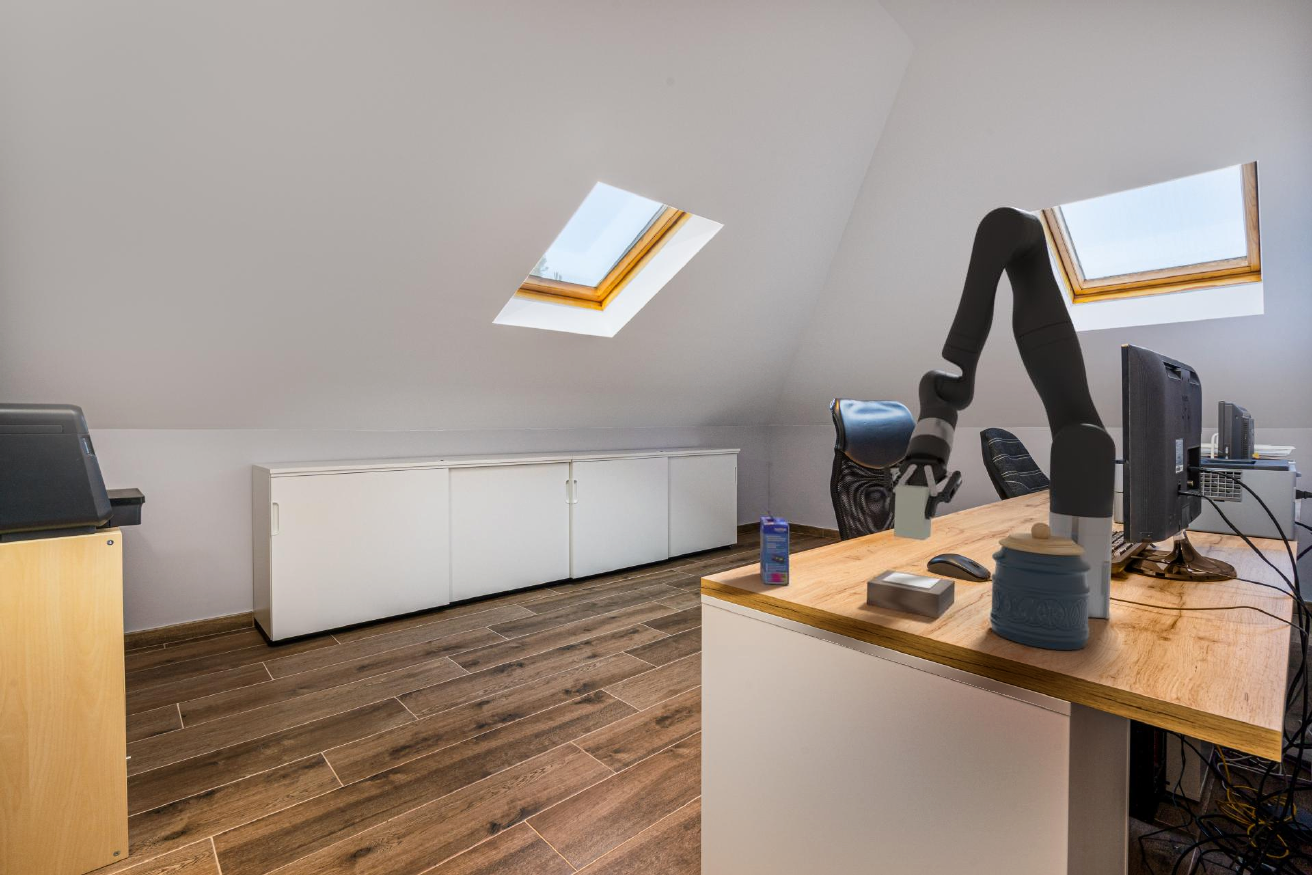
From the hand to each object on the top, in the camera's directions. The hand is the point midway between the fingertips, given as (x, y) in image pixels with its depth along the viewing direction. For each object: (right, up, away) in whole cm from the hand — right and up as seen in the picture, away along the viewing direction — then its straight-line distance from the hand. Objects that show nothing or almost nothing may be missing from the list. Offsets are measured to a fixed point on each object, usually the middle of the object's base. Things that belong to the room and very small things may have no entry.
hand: (910, 514), depth 108 cm
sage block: (+1, -4, +2) cm, 5 cm away
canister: (+14, -17, -14) cm, 26 cm away
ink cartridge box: (-21, -16, +18) cm, 32 cm away
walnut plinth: (+1, -16, +2) cm, 16 cm away
